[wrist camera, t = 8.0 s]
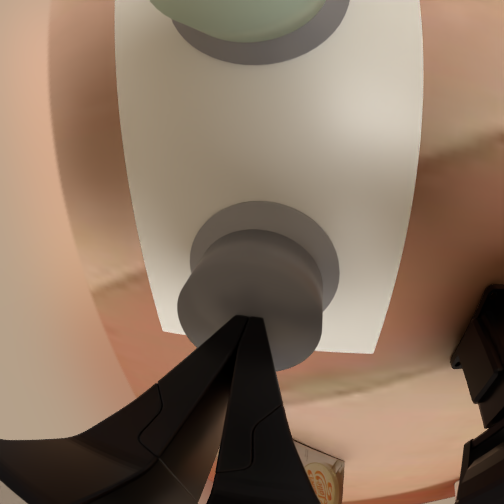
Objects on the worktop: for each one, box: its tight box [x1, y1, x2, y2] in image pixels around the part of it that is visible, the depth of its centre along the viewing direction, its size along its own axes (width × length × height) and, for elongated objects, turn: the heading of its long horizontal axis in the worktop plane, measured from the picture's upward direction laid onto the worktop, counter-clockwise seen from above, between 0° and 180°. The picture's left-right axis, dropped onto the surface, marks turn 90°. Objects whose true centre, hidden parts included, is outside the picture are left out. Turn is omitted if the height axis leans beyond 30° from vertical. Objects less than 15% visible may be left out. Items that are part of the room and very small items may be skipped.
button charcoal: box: [177, 229, 323, 371], centre depth 10 cm, size 4×4×2 cm
